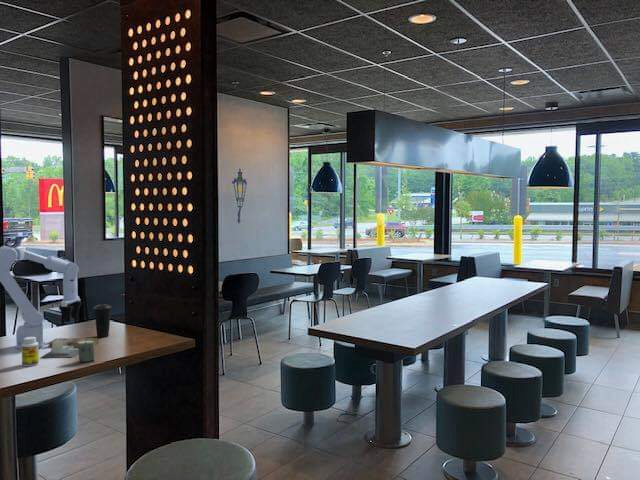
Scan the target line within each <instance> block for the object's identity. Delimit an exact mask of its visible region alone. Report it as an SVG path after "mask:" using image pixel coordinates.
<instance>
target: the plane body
mask: <svg viewBox="0 0 640 480" xmlns="http://www.w3.org/2000/svg"><path fill="white" fill-rule="evenodd" d="M56 340H67V345H68V346H74V348H78V342H83V341H94V345H95V346H97V345H98V344H99V338H98V337H97V338H83V337H82V338H80V337H79V338H71V337H70V338H67V337H66V338H62V337H60V338H59V337H56V338H54V339H52V340H51V341H49V342H48V348H52V342H54V341H56ZM97 343H98V344H97Z"/></svg>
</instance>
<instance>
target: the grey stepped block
mask: <svg viewBox="0 0 640 480" xmlns="http://www.w3.org/2000/svg"><path fill="white" fill-rule="evenodd" d="M50 349H51V350H50V351H51V355H70V354H71V353H73V352H74V350H75V347H74V346H68V345H67V340H56V341H54V342H52V347H50Z"/></svg>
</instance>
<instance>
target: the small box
mask: <svg viewBox="0 0 640 480" xmlns="http://www.w3.org/2000/svg"><path fill="white" fill-rule="evenodd" d="M77 348H78V349H77V350H79V354H78V359H79V360H78V361H79V363H92V362H91V361H93V362H95V346H94V341H83V342H78V347H77Z"/></svg>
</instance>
